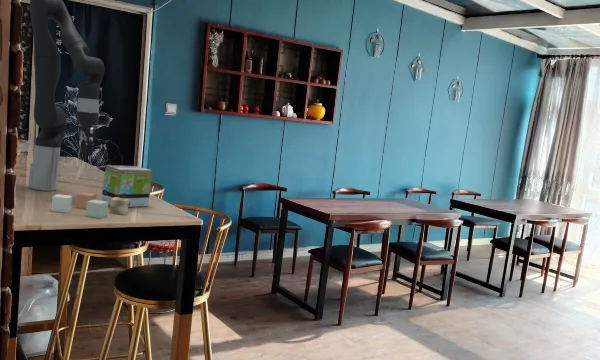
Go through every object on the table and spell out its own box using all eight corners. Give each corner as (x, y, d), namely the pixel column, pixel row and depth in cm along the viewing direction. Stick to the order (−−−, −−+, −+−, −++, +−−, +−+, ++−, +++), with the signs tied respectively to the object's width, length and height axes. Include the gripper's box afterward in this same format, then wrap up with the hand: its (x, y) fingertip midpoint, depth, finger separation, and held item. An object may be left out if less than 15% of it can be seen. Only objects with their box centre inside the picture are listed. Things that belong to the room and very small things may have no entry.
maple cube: (109, 213, 182) (111, 199, 182) (113, 210, 187) (115, 197, 187) (123, 215, 183) (125, 201, 182) (127, 212, 188) (129, 199, 187)
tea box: (117, 208, 191) (122, 169, 189) (100, 203, 196) (104, 164, 194) (149, 206, 204) (153, 169, 202) (132, 201, 209) (136, 165, 207)
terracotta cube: (75, 207, 182) (77, 193, 182) (81, 205, 187) (83, 192, 187) (89, 209, 182) (91, 196, 182) (95, 207, 187) (96, 194, 187)
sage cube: (85, 215, 173) (86, 201, 172) (93, 213, 178) (95, 199, 177) (99, 218, 172) (100, 203, 172) (106, 216, 177) (108, 201, 177)
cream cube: (51, 211, 172) (52, 196, 171) (55, 208, 177) (57, 194, 176) (66, 213, 173) (68, 198, 172) (71, 210, 178) (72, 195, 177)
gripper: (73, 109, 197) (71, 151, 199) (81, 111, 185) (79, 156, 187) (93, 110, 201) (91, 152, 203) (103, 112, 190) (101, 156, 192)
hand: (86, 154), depth 195 cm, fingers open, 8 cm apart
